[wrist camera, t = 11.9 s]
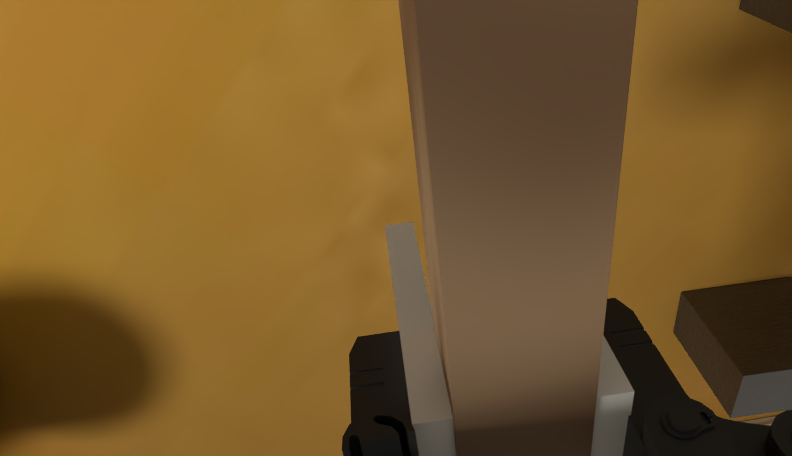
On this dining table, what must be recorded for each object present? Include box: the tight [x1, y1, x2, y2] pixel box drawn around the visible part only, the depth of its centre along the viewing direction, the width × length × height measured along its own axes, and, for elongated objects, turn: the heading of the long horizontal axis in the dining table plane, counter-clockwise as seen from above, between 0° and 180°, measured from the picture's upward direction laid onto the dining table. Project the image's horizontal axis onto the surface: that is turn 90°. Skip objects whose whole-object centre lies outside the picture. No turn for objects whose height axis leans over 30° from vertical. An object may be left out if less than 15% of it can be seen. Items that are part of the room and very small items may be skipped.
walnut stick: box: [399, 0, 638, 456], centre depth 12 cm, size 24×2×2 cm, turn 6°
